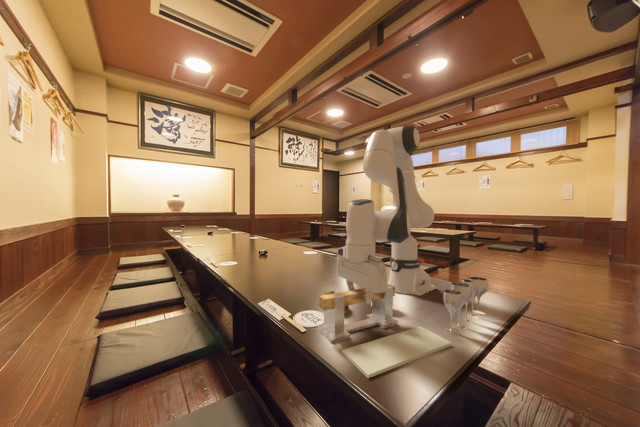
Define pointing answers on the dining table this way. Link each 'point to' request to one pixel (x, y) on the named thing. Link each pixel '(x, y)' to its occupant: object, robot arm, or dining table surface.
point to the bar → (349, 297)
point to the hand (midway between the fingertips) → (359, 298)
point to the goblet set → (463, 298)
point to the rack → (339, 331)
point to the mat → (394, 350)
